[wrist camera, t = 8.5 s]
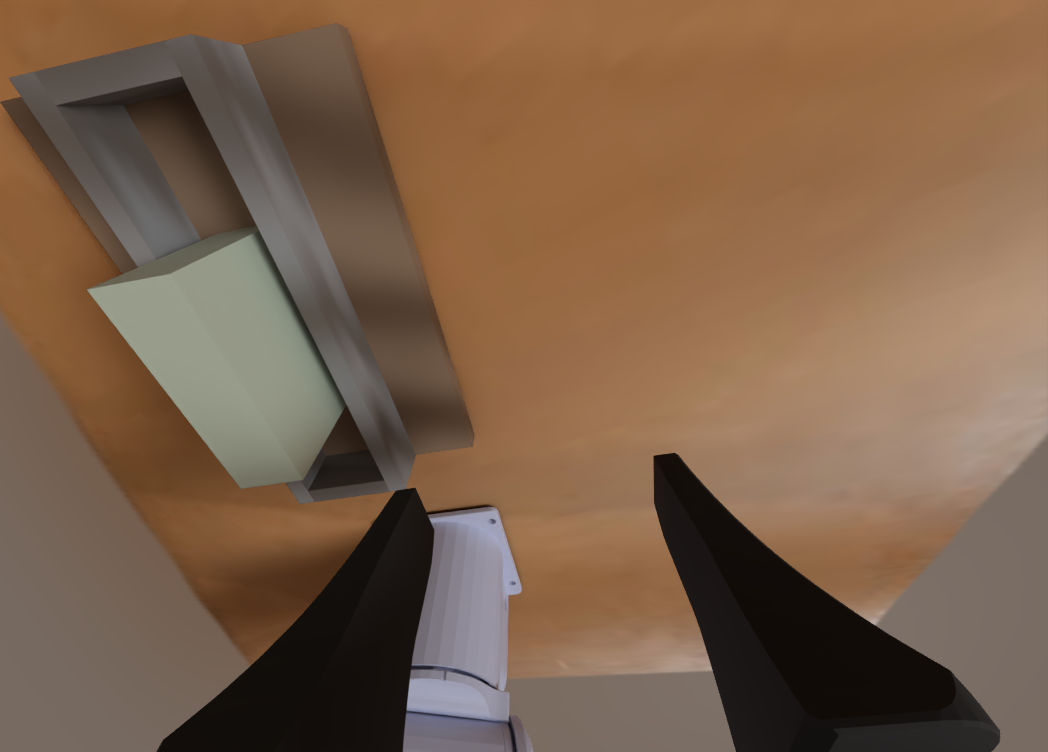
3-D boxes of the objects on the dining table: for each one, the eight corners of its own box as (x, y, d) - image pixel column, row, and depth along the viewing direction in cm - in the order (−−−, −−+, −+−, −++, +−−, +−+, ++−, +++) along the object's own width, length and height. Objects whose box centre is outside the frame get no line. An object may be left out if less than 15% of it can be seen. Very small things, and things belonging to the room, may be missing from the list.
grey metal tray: (474, 434, 24) (468, 481, 21) (274, 463, 25) (241, 511, 22) (347, 27, 14) (302, 8, 11) (28, 102, 15) (-90, 101, 12)
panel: (355, 388, 21) (303, 479, 16) (307, 396, 21) (240, 488, 16) (276, 222, 16) (169, 273, 11) (217, 233, 17) (86, 289, 12)
